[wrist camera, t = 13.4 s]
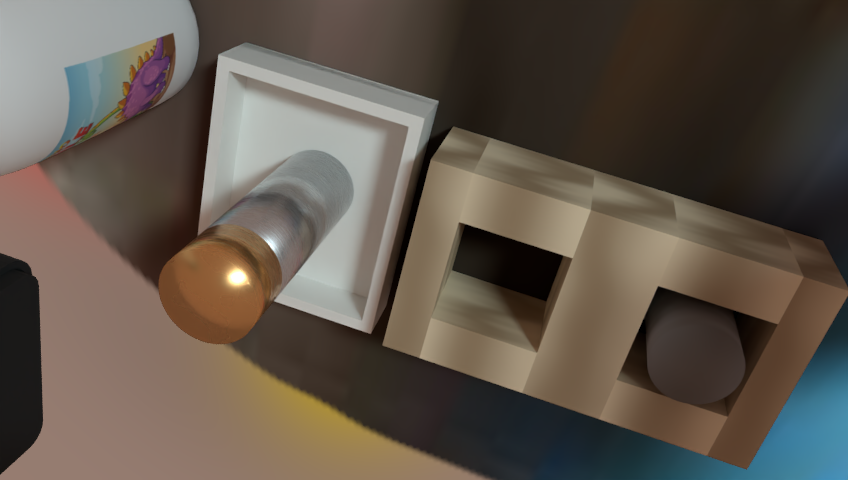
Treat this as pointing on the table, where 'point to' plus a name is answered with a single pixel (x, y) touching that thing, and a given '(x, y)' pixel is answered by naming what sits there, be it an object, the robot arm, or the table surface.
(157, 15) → the milk bottle
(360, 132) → the tray
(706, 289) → the socket block
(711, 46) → the table surface
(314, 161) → the pin
